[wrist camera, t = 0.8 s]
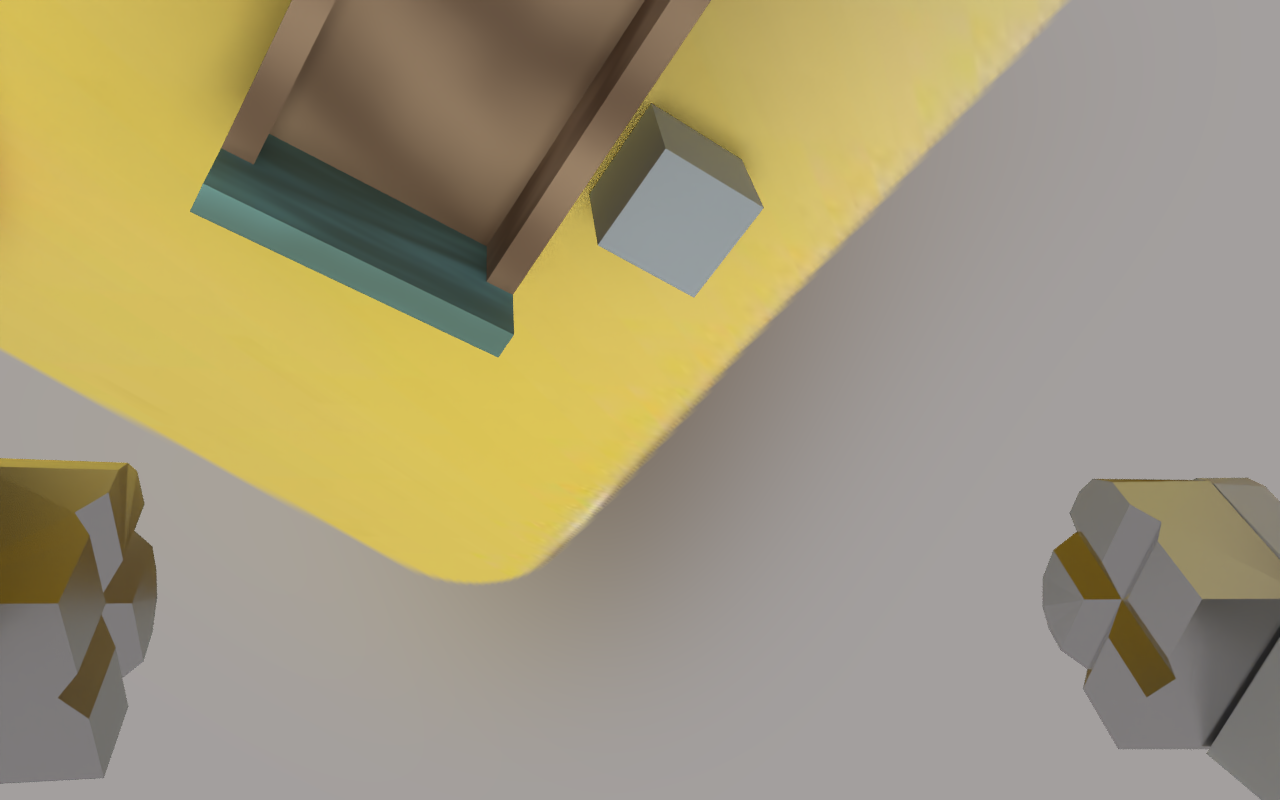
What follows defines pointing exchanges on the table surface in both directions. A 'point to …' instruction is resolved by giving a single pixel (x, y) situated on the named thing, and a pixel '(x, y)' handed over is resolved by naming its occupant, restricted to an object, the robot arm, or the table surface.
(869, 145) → the table surface
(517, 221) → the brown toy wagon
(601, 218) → the block
